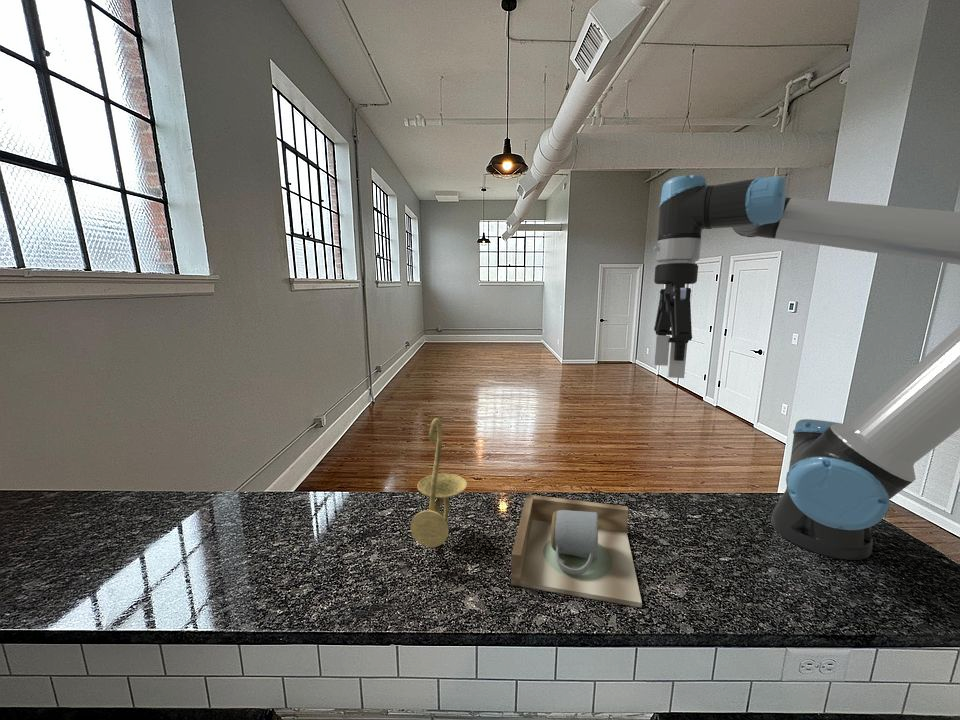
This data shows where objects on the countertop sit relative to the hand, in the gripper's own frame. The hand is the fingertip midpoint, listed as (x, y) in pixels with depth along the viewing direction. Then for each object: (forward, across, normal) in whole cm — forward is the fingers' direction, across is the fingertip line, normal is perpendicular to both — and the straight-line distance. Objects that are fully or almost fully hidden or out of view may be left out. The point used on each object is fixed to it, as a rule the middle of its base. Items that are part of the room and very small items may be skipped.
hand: (667, 371), depth 80 cm
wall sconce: (+32, +20, -42) cm, 56 cm away
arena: (+32, +18, -17) cm, 40 cm away
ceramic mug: (+31, +20, -17) cm, 40 cm away
